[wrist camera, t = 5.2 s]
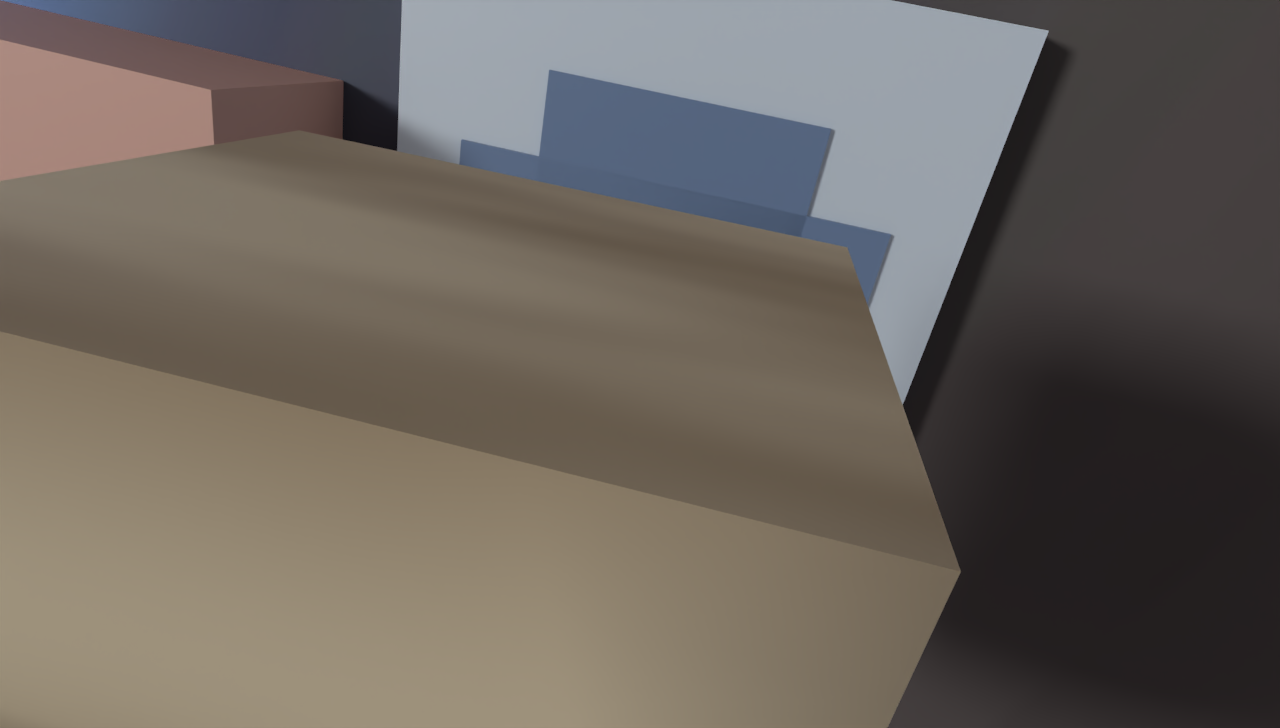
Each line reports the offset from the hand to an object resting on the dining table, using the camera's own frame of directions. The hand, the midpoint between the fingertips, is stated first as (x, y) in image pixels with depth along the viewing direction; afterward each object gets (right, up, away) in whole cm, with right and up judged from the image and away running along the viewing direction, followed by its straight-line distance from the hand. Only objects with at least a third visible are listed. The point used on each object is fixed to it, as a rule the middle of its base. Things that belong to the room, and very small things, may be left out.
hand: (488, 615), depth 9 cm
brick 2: (0, +1, +1) cm, 1 cm away
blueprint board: (+2, +5, +11) cm, 12 cm away
